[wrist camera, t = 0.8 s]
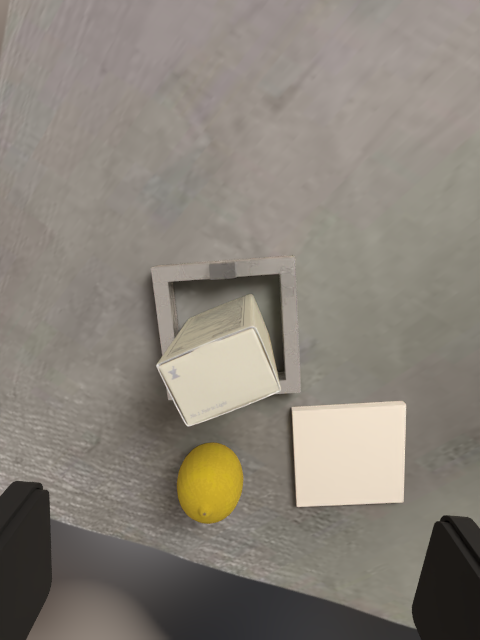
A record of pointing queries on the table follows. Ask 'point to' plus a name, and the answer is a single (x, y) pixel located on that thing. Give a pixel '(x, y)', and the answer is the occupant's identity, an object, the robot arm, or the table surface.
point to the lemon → (210, 483)
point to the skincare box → (220, 362)
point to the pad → (349, 453)
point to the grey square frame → (227, 270)
